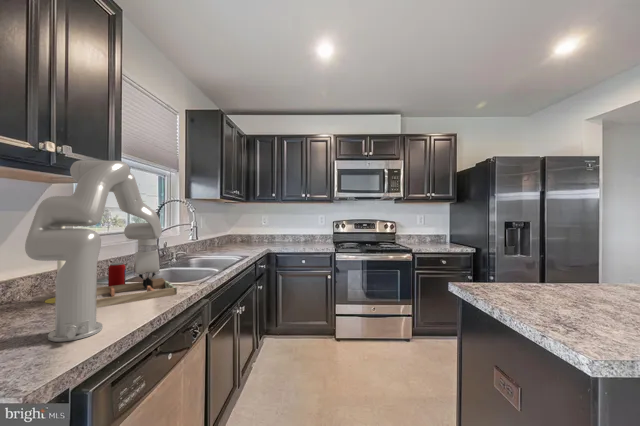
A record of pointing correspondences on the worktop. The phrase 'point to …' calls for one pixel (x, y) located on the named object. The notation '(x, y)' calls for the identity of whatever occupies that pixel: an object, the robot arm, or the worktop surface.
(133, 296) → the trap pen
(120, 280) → the beverage can
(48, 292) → the worktop surface
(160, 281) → the block
